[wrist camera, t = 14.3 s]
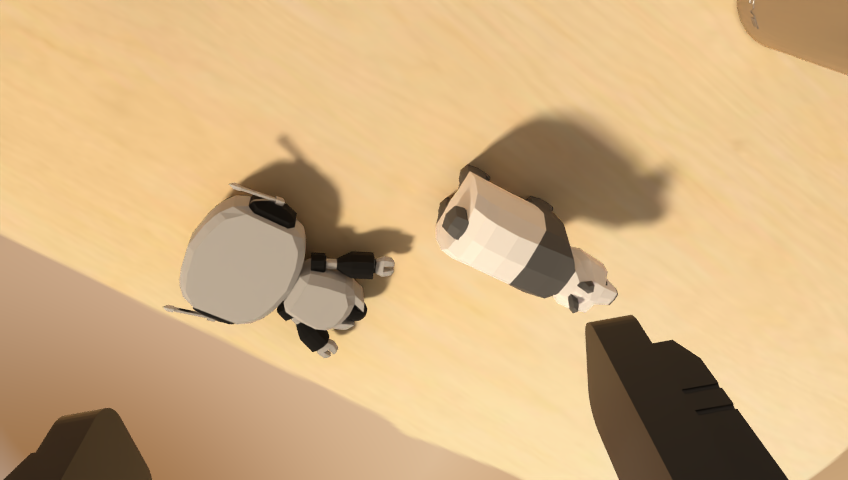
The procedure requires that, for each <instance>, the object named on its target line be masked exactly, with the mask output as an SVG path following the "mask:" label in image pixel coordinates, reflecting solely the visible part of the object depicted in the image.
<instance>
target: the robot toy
mask: <svg viewBox="0 0 848 480" xmlns="http://www.w3.org/2000/svg"><path fill="white" fill-rule="evenodd" d="M229 185H230V186H231V187H232V188H233V189H235V190H238V191H240V190H241V191H244V192H247V193H250V194H253V196H242V195H235V196H233V197H231V198H228V199H226V200H224V201H222V202H221V203H219V204H218V205H217V206H216V207H215V208H214V209H213V210H211V211H210V212H209V213H208V214H207V216H206V217H205V218H204V219H203V221H202V222H201V223H200V224H199V226H198V227H197V228H196V229H195V231H194V232H193V234H192V236H191V239H190V242H189V244H188V247H187V251H186V254H185V257H184V260H183V264H182V267H181V273H180V288H181V291H182V295H183V297H184V298H185V299H186V300H187V301H188V302H189V303H190V304H191V305H192V306H193V309H194V310H196V311H197V312H196V311H191V310H186V309H181V308H176V307H174V306H171V305H166V306H163V308H164V309H165V310H166V311H170V312H173V311H174V312H179V313H184V314H189V315H194V316H199V317H204V318H207V320H210V321H215V320H216V321H219V322H224V323H227V324H234V323H235V324H245V323H252V322H255V321H257V320H260V319H262V318H264V317H265V316H267V315H268V314H270V313H271V312H272V311H273V310H274V309H276V308H277V307H278V308H277V312H278V314H279V315H280V316H281V317H282V318H283V319H284V320H285V321H286V320H290V319H291V320H292V321H293V322H294V323H295V324H296V327H297V330H298V334H299V337H300V340H301V341H302V342H303V343H304V344H305V345H306V346H307V347H308V348H309V349H310V350H311V351H312V352H314V351H317V353H318V354H319V355H320V356H322V357H324V358H328V357H330V356H331V355H330V354H331V352H332V353H333V354H335V353H336V352H337V349H338V346H337V345H336V343H335V342H334V341H333V340H331V339H329V334H328V331H327V330H329V329H341V330H347V329H349V328H350V327H352V326H354V325H355V323H354V321H359V320H361V319H363V318H364V317H365V315H366V313H367V307H366V304H365V303H364V296H363V287H362V286H361V285H360V284H359V283H357V282H356V281H355V280H354V278H356V279H373V273H376V274H378V275H380V276H382V277H384V276H390V275H391V274H392V273H393V270H394V269H393V267H394V260H393V259H392V258H390V257H387V256H382V257H379V258H376V259H374V254H373V253H372V252H350V253H348V254H345V255H343V256H341V257H339V258H338V259H329V258H326V255H325V254H324V253H311V258H310V259H307V260H304V258H305V246H306V236H305V230H304V226H303V225H302V224H301V223H300V222H299V221H298V220H297V219H296V215H297V213H296V212H295V211H294V210H292V209H291V208H290V207H289V206H288V205H287V204H285V201H284V198H281V197H278V196H276V197H272V196H269V195H266V194H263V193H260V192H257V191H254V190H251V189H248V188H245V187H243V186H241V185H239V184H236V183H231V184H229ZM328 350H329V351H331V352H329V351H328Z"/></svg>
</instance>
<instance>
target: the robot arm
mask: <svg viewBox="0 0 848 480" xmlns="http://www.w3.org/2000/svg"><path fill="white" fill-rule="evenodd" d="M737 9H738V13H739V17H740V21H741V23H742V24H743V26H744V28H745V30H746V32H747V33H748V34H749V35H750V36H751V37H752V38H753V39H754V40H755V41H757V42H758V43H760V44H762V45H764V46H766V47H769V48H771V49H774V50H777V51H780V52H783V53H786V54H789V55H791V56H794V57H797V58H799V59H802V60H805V61H808V62H811V63H814V64H817V65H819V66H822V67H825V68H828V69H831V70H834V71H837V72H840V73H842V74H845V75H848V0H737ZM585 336H586V354H587V373H588V391H589V399H590V405H591V409H592V413H593V417H594V420H595V424H596V426H597V429H598V432H599V434H600V436H601V439H602V441H603V443H604V446H605V448H606V450H607V453H608V455H609V457H610V460H611V462H612V464H613V467H614V469H615V471H616V474H617V476H618V478H619V480H788V478H787V477H786V475H785V474H784V473H783V471H782V470H781V469H780V467H779V466H778V464H777V463H776V462H775V460H774V459H773V458H772V456H771V455H770V453H769V452H768V451H767V449H766V448H765V447H764V445H763V444H762V442H761V441H760V440H759V438H758V437H757V436H756V434H755V433H754V431H753V430H752V429H751V427H750V426H749V424H748V423H747V422H746V420H745V419H744V418H743V416H742V415H741V413H740V412H739V411H738V409H735V408H734V406H733V402H732V401H731V400H730V398H729V397H728V396H727V394H726V393H725V391H724V390H723V389H722V388H720V387H719V385H718V382H717V380H716V379H715V378H714V376H713V375H712V374H711V372H710V371H709V369H708V368H707V367H706V365H705V364H704V363H703V361H702V360H701V358H699V357H698V356H696V355H695V354H693V353H692V352H690V351H689V350H687V349H686V348H684V347H683V346H681V345H680V344H678V343H676V342H675V341H673V340H669V341H664V342H658V343H652V342H651V341H650V339H649V338H648V336H647V334H646V333H645V331H644V330H643V328H642V327H641V325H640V324H639V322H638V320H637V319H636V318H635V317H634V316H633V315H628V316H622V317H617V318H611V319H606V320H600V321H595V322H589V323H587V324H586V329H585ZM4 480H152V478H151V474H150V470H149V468H148V467H147V464H146V463H145V461H144V459H143V457H142V456H141V454H140V452H139V450H138V448H137V447H136V445H135V443H134V441H133V439H132V438H131V436H130V434H129V432H128V430H127V429H126V427H125V425H124V423H123V421H122V420H121V418H120V416H119V415H118V413H117V412H116V411H114V410H113V409H111V408H104V409H99V410H94V411H88V412H82V413H77V414H71V415H65V416H62V417H60V418H59V419H58V420H57V421H56V422H55V423H54V425H53V426H52V428H51V429H50V431H49V432H48V434H47V436H46V437H45V439H44V440H43V442H42V444H41V445H40V447H39V448H38V450H37V451H36V453H31V454H30V455H29V456H28V457H27V458H26V459H25V460H24V461H22V462H21V463H20V464H19V465H18V466H17V467H16V468H15V469H14V470H13V471H12V472H11V473H10V474H9V475H8V476H7V477H6V478H5V479H4Z"/></svg>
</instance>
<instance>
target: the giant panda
mask: <svg viewBox="0 0 848 480" xmlns="http://www.w3.org/2000/svg"><path fill="white" fill-rule="evenodd" d="M489 180H490V177H489V176H488V175H487V174H486V173H484V172H483V171H481V170H480V169H478V168H476V167H473V166H470V165H466V166H465V167H464V168H463V169H462V170H461V172H460V176H459V182H460V184H459V188H458V190H457V192H456V193H455V195H454V196H453V197H452V199H448V198H446V199H445V200H444V201H442V202H441V203H440V207H439V214H438V220H437V223H436V240H437V242H438V245H439V247H440V249H441V250H442V251H443V252H445V253H446V254H447V255H448V256H450V257H451V258H453V259H455V260H457V261H459V262H462V263H464V264H466V265H469V266H471V267H473V268H475V269H477V270H479V271H481V272H483V273H485V274H487V275H489V276H492V277H494V278H496V279H498V280H500V281H502V282H505V283H507V284H509V285H511V286H513V287H515V288H517V289H519V290H521V291H523V292H526V293H529V294H532V295H535V296H538V297H542V298H547V297H550V296H553V297H554V299H555V301H556V303H558V304H560V305H563V306H565V307H567V308H569V309H570V310H571V311H572V313H575V312H578V311H580V312H584V313H586V312H587V311H588V310H589V309H590V308H591V307H592V306H593V305H594V304H602V305H610V304H611V303H612V302H613V301H614V300H615V298H616V297H617V295H618V293H617V290H616V288H615V287H614V286H613V285H612V284H611V283H610V282H609V281H608V279H607V270H606V268H605V266H604V264H603V263H601V262H600V261H598V260H597V259H595V258H594V257H592V256H591V255H589V254H588V253H586V252H584V251H583V250H581V249H580V248H575V247H571V246H570V244H569V241H568V237H567V234H566V231H565V227H564V224H563V223H562V222H561V221H560V220H559V219H558V218H557V216H556V215H555V214H554V213H553V212H552V210H553V207H552V206H551V205H550V204H548V203H547V202H545V201H543V200H541V199H538V198H535V197H531V196H530V197H529V198H528V199H527V200H524V199H522V198H520V197H518V196H516V195H514V194H512V193H510V192H508V191H506V190H504V189H502V188H500V187H498V186H496V185H495V184H493V183H491V182H489Z"/></svg>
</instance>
